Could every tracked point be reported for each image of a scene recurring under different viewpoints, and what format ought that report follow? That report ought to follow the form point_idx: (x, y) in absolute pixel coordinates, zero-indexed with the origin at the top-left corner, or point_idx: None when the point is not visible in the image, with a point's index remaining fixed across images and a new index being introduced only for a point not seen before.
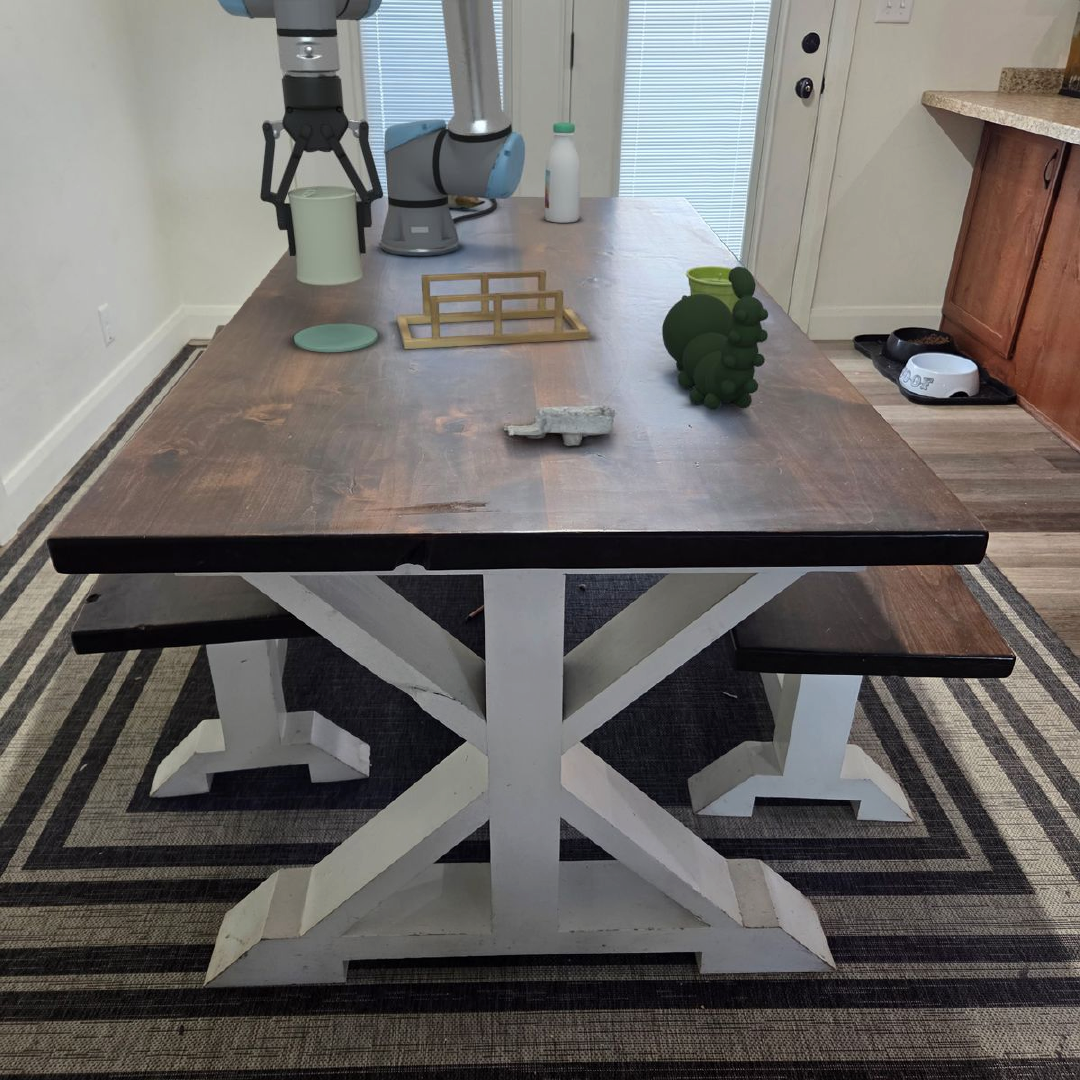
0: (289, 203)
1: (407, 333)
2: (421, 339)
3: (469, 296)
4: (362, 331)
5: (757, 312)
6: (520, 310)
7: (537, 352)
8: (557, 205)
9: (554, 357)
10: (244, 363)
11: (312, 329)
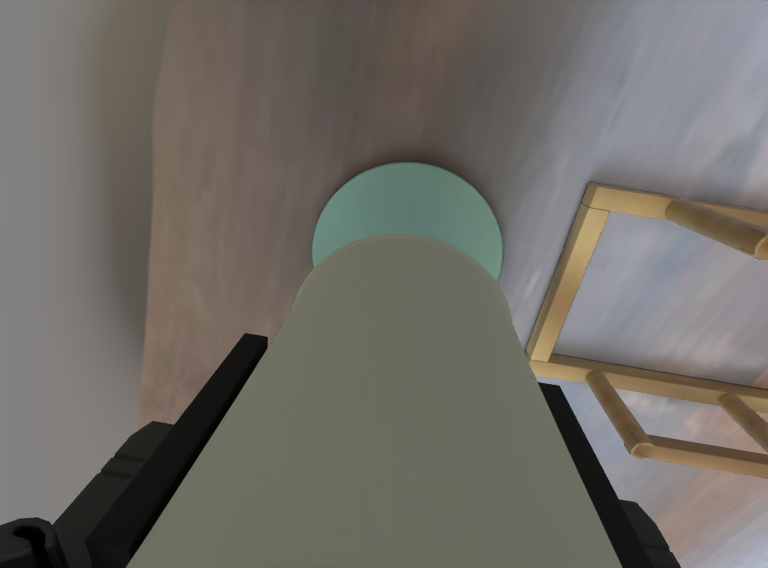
0: (125, 557)
1: (552, 333)
2: (562, 375)
3: (729, 471)
4: (471, 252)
5: None
6: None
7: (742, 449)
8: None
9: (748, 475)
10: (219, 334)
11: (359, 196)
